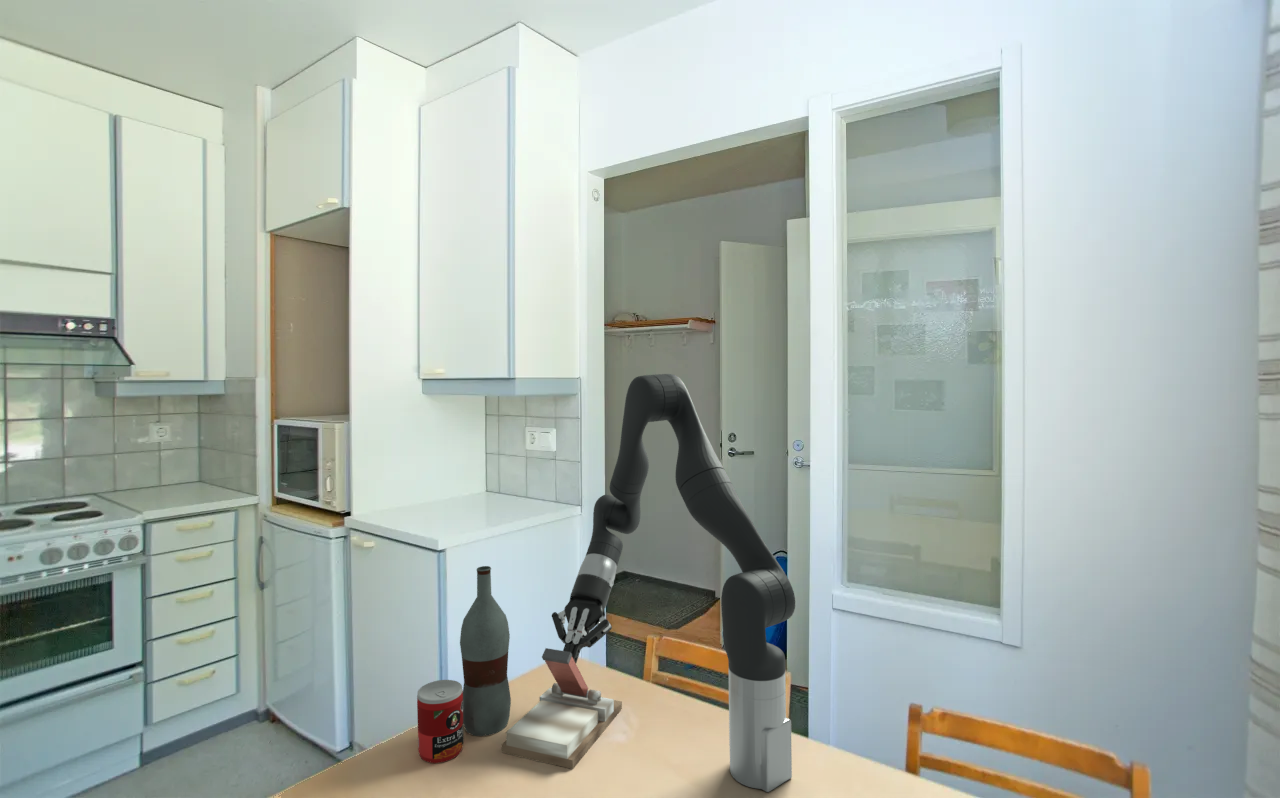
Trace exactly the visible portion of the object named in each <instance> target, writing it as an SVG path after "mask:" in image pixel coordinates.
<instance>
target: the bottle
mask: <svg viewBox="0 0 1280 798" xmlns="http://www.w3.org/2000/svg"><path fill="white" fill-rule="evenodd" d="M491 570H492V568H491V566H489V565H485V566H484V565H482V566H478V567H476V598H475V599H474V601H473V603H472V604H471V606H470V608H469V609H468V611H467V612H466V614H465V616H464V618H463V620H462V624H461V627H460V637H459V647H460V653H461V663H462V664H461V665H462V672H463V673H462V674H463V686H462V689H463V728H464V729H465V732H466V733H467V734H469V735H471V736H476V737H484V736H485V737H487V736H491V735H493V734H495V735H496V734H497V733H499V732H501V731H503V730H504V729H505V728H507V725H508V723H509V719H510V716H511V706H512V705H511V703H512V697H511V690H510V684H509V683H510V682H509V678H508V662H509V650H510V649H509V646H510V638H511V637H510V627H509V622H508V621H509V620H508V618H507V616H506V613H505V612H504V611H503V609H502V607H500V605H499V604H498V602H497V601H496V599H495V598H494V596H493V595H492V578H491V577H492V576H491Z"/></svg>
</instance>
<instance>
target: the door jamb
mask: <svg viewBox="0 0 1280 798" xmlns="http://www.w3.org/2000/svg"><path fill="white" fill-rule="evenodd" d="M588 690H589V692H588V698H584V697H578V696H573V695H567V694H564V692H562V691H561V689H560V687H559V685H558V684H557V682H554V683H553V684H552V686H551V687H549V688H548V689H547V690H545V691H544V692H543V693H542V694H541V695H540V696H539V697H538V698H539V699H538V700H539V702H537V703H536V704H535V705H534V707H532V708H531V709H530V710H529V711H527V713H526V714H525V715H523V716H522V717H521V718H520V719H519V720H518V721H517V722H516V723H515V724H514V725H512V727H510V728H509V729H508V730H507V731H506V732H505V735H506V736H505V738H506V740H504V742H502V743H501V753H502V754H507V755H510V756H514V757H519V758H523V759H527V760H530V761H531V760H533V761H537V762H540V763H545V764H550V765H553V766H559V767H561V768H565V769H566V768H567V769H571V770H574V768H575V767H576V766H577V765H578V764H579V763H580V761H581V760H582V759H583V758H584V756H585V755H586V754H587V753H588V751H589V750H590V749H591V748H592V746H593V745H594V744H595V743H596V742H597V740H598V739H599V738H600V737H601V735H602V734H603V733H604V732H605V730H606V729H607V728H608V727H609V726H610V724H611V723H612V722H613V721H614V720H615V718H616V717H617V716H618V715H619V713H620V712H621V709H622V710H623V701H620V700H615V699H614V698H608V697H602V692H601V690H596V689H588ZM617 714H618V715H617Z"/></svg>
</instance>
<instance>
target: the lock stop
mask: <svg viewBox="0 0 1280 798" xmlns="http://www.w3.org/2000/svg"><path fill="white" fill-rule="evenodd" d="M541 658H542V660H543V661H544V662H545V664H546V666H547V667H548V670H549V671H550V673H551V675H552V676H553V678H554V680H555V683H557V684H558V685H559V687H560V689H561V691H562V692H564V694H567V695H573V696H578V697H584V698H588V692H589V690H590V689H589V687H588V685H587V683H586V681H585V679H584V677H583V675H582V673H581V671H580V670H579V667H578V665H577V663H575V661H574V659H573V657H572V654H571V652H567V651H563V650H560V649H554V648H546V647H545V649H544V650H543V654H542V656H541Z"/></svg>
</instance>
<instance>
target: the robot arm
mask: <svg viewBox="0 0 1280 798" xmlns="http://www.w3.org/2000/svg"><path fill="white" fill-rule="evenodd" d="M663 421H667V422H668V423H669V424H670V426H671V427H672V429H673V432H674V434H675V436H676V437H675V438H676V439H677V444H678V451H677V452H678V453H677V457H676V466H675V476H674V477H675V485H676V487H677V489H678V491H679V494H680V497H681V498H682V500H683V502H684V505H685V507H686V508H687V510H688V512H689V514H690V516H691V517H692V518H693V519H694V520H695V522H696V523H698V524H699V526H701V527H702V529H704V530H705V531H706V532H707V533H708V534H710V535H711V536H712V537H714V538H715V539H716V540H718V541H719V542H720V543H721V544H722V545H723V546H724V547H725V548H727V550H728V551H729V552H730V553H731V555H732V556H733V557H734V560H735V562H737V564H738V566H739V568H740V570H741V572H740V573H739V572H738V573H735V574H733V575H731V576H729V577H728V578H727V579H726V580H725V582H724V583H723V587H722V589H721V598H720V599H721V600H720V601H721V602H720V604H721V606H720V607H721V621H722V623H721V624H722V638H723V639H722V640H723V646H724V647H723V648H724V651H725V653H726V656H727V661H728V729H729V730H728V732H729V733H728V734H729V735H728V736H729V739H728V740H729V744H728V745H729V771H730V774H731V776H732V779H734V780H735V781H736V782H737V783H740V784H741V785H743V786H746V787H749V788H753V789H757V790H758V789H759V790H763V791H764V792H766V793H769V792H771V791H772V790H774V789H776V788H777V787H779V786H780V785H782V784H784V783H785V782H787V781H788V780H790V779H792V777H793V774H792V773H793V771H792V769H793V767H792V766H793V763H792V762H793V761H792V759H793V758H792V751H793V750H792V720H791V719H790V718H788V717H787V710H786V709H787V708H786V707H787V701H786V700H787V695H786V692H787V691H786V681H787V680H786V656H785V653H784V651H783V650H782V649H781V648H780V647H779V646H776V645H775V644H773V643H769V642H767V635H766V634H767V633H766V629H767V628H770V627H772V626H776V625H778V624H781V623H783V622H785V621H787V620H788V619H791V617H792V616H793V614H794V613H795V609H796V597H795V591H794V589H793V586H792V583H791V582H790V580H789V577H788V576H787V574H786V572H785V571H784V569H783V568H782V566H781V565H780V563H779V562H778V561H777V558H776V557H775V556H774V554H773V553H772V551H771V550H770V547H768V545H767V544H766V542H765V541H764V539H763V538H762V535H760V532H759V531H758V530H757V527H756V526H755V525H754V523H753V521H752V519H751V517H750V515H749V513H748V511H747V510H746V508H745V507H744V505H743V503H742V501H741V499H740V497H739V495H738V493H737V490H736V489H735V487H734V485H733V483H732V481H731V478H730V477H729V475H728V473H727V472H726V470H725V468H724V466H723V464H722V463H721V461H720V459H719V456H718V455H717V453H716V452H715V450H714V447H713V446H712V443H711V442H710V440H709V437H708V436H707V434H706V431H705V429H704V426H703V425H702V422H701V420H700V418H699V415H698V413H697V409H696V407H695V405H694V403H693V401H692V398H691V395H690V393H689V390H688V388H687V387H686V384H685V383H684V382H683V380H682V378H680V377H679V376H677V375H675V374H672V373H662V374H659V373H658V374H646V375H645V374H644V375H639V376H635V378H633V379H632V380H631V382H630V384H629V385H628V388H627V391H626V397H625V401H624V409H623V417H622V423H621V424H622V425H621V433H620V445H619V450H618V456H617V460H616V464H615V466H614V468H613V472H612V476H611V480H610V481H609V492H610V494H611V495H610V494H604V495H601V496H599V498H598V499H597V500H595V501H596V502H595V503H594V507H593V514H592V518H593V519H592V533H591V539H590V541H589V545H588V547H587V551H586V553H585V555H584V556H585V557H584V558H583V560H582V562H581V565H580V568H579V569H578V573H577V576H576V578H575V582H574V584H573V587H572V590H571V593H570V596H569V601H568V603H567V604H566V605H565V607H564V609H563V610H562V611H560V612H558V613H557V611H554V612H552V614H551V619H552V621H553V624H554V627H555V630H556V633H557V636H558V638H559V640H561V642H562V643H563V644H564V646H563V650H562V651H567V652H571V654H572V657H573V659H574V661H575V663H576V664H577V662H578V659H579V656H580V654H581V651H582V649H583V648H592V646H594V645H595V644H596V643H597V642H598V641H599V640H601V639H602V638H603V637H604V636H606V635H607V634H608V633H609V632H610V631H611V630H612V629H613V627H612V625H611V623H610V621H609V620H608V619H606V618H605V617H606V612H605V609H606V607H607V605H608V603H609V602H608V601H609V598H610V596H611V595H610V594H611V591H612V589H613V586H614V583H615V579H616V573H617V568H618V564H619V563H620V559H621V555H622V552H623V548H624V544H623V541H622V540H621V539H620V537H618V536H617V535H615V534H614V533H612V532H611V531H609V530H612V531H615V532H617V533H621V534H625V535H629V534H632V533H633V532H636V530H637V529H638V527H639V525H640V521H641V497H642V496H641V494H642V491H643V487H644V485H645V483H646V480H647V476H648V474H649V468H650V467H649V466H650V465H649V463H650V462H649V457H648V454H647V450H646V448H645V446H644V442H643V433H644V431H645V428H646V427H647V425H648V423H652V422H653V423H654V422H663ZM608 529H609V530H608ZM566 621H567V624H568V625H567V628H565V625H564V624H565V623H566ZM566 629H567V631H566Z"/></svg>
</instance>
